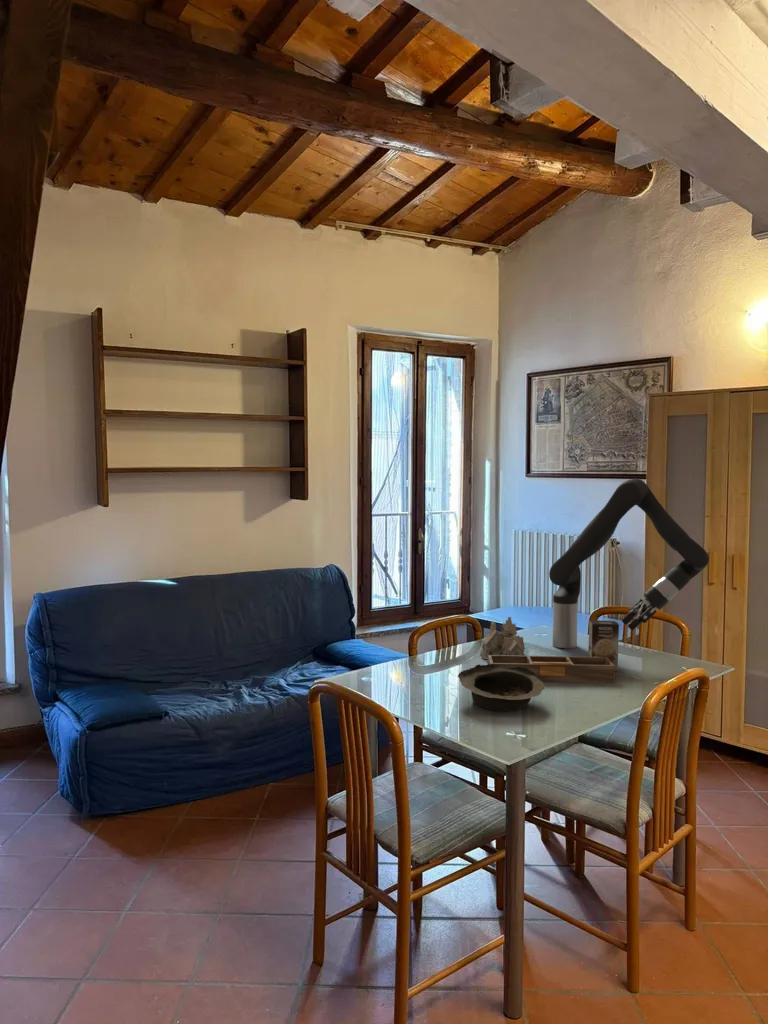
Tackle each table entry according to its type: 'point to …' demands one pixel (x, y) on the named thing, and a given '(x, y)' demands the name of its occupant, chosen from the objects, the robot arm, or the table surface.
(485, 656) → the ceramic cottage
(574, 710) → the table surface
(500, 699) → the stone bowl
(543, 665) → the brown wooden compartment tray
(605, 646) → the coffee box
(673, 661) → the table surface
